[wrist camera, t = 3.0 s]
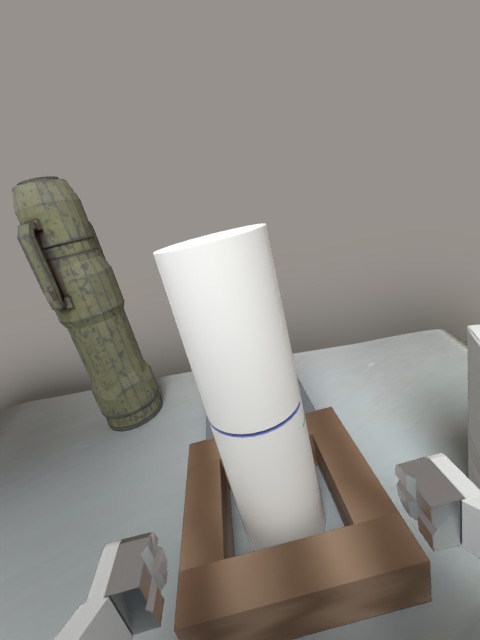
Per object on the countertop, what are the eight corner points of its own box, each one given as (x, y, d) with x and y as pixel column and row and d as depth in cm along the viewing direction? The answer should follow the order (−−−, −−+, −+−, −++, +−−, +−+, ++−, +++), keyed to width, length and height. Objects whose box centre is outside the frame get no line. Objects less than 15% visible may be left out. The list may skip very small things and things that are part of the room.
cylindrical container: (230, 538, 27) (129, 259, 19) (269, 475, 32) (204, 234, 24) (305, 580, 23) (218, 243, 14) (337, 500, 28) (286, 217, 20)
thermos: (172, 386, 55) (94, 175, 43) (149, 433, 44) (38, 167, 32) (126, 395, 56) (39, 192, 44) (93, 442, 45) (-34, 189, 33)
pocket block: (192, 666, 20) (174, 630, 19) (199, 471, 35) (189, 444, 34) (431, 600, 20) (429, 560, 19) (336, 435, 35) (331, 406, 34)
